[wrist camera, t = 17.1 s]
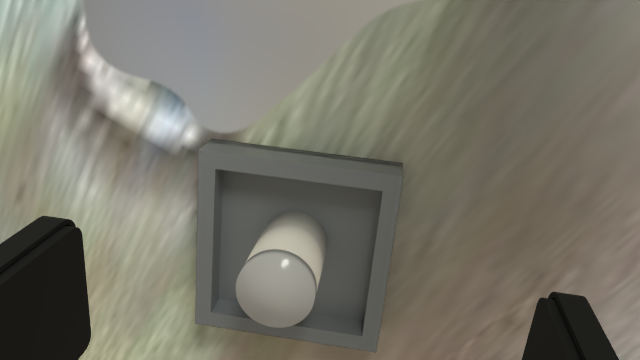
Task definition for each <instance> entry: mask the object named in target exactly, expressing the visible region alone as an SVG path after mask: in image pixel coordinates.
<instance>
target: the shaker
mask: <svg viewBox="0 0 640 360" xmlns="http://www.w3.org/2000/svg"><path fill="white" fill-rule="evenodd" d="M327 248H328V239H327V235H326V232H325V230H324V228H323V227H322V225H321V224H320V223H319V222H318V221H317V220H316V219H315V218H313V217H312V216H310V215H308V214H306V213H303V212H298V211H287V212H283V213H280V214H278V215H276V216H274V217H273V218H272V219H271V220H270V221H269V222H268V223H267V224H266V226H265V228H264V230H263V232H262V234H261V235H260V237H259V239H258V241H257V243H256V244H255V246H254V248H253V250H252V252H251V254H250V255H249V257H248V259H247V261H246V263H245V265H244V266H243V268H242V270H241V272H240V274H239V275H238V278H237V281H236V296H237V300H238V302H239V304H240V306H241V308H242V309H243V311H244V312H245V313H246V314H247V315H248V316H249V317H250V318H252V319H253V320H254V321H256V322H258V323H260V324H262V325H265V326H269V327H274V328H283V327H289V326H292V325H295V324H297V323H299V322H300V321H302V320H303V319H304V318H305V317H306V316H307V315H308V314H309V313H310V311H311V309H312V307H313V304H314V300H315V296H316V292H317V288H318V284H319V280H320V276H321V272H322V269H323V265H324V261H325V257H326V253H327Z"/></svg>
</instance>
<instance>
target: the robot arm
mask: <svg viewBox="0 0 640 360" xmlns="http://www.w3.org/2000/svg"><path fill="white" fill-rule="evenodd" d="M90 337H91V327H90V316H89V305H88V294H87V283H86V272H85V261H84V250H83V239H82V232H81V230H80V229H79V228H77V227H75V224H74V222H73V221H71V220H69V219H63V218H56V217H49V216H42V217H39V218H38V219H36V220H35V221H33V222H32V223H31V224H29V225H28V226H26V227H25V228H23V229H22V230H20V231H19V232H17V233H16V234H14V235H13V236H11V237H10V238H8V239H7V240H6V241H4V242H3V243H1V244H0V360H78V359H79V357H80V356H81V355H82V354H83V353H84V352H85V350H86V349H87V347H88V345H89V342H90ZM522 360H619V359H618V357H617V355H616V353H615V351H614V350H613V348H612V346H611V344H610V342H609V340H608V338H607V336H606V335H605V333H604V331H603V329H602V327H601V325H600V323H599V321H598V319H597V318H596V316H595V314H594V312H593V310H592V308H591V306H590V304H589V303H588V301H587V299H586V298H585V297H583V296H578V295H572V294H565V293H558V292H552V293H551V294H550V295H549V297H548V299H547V298H540V299H539V301H538V303H537V306H536V310H535V313H534V317H533V321H532V324H531V328H530V332H529V335H528V339H527V343H526V346H525V350H524V354H523V357H522Z"/></svg>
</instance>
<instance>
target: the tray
mask: <svg viewBox="0 0 640 360" xmlns="http://www.w3.org/2000/svg"><path fill="white" fill-rule="evenodd" d="M402 181H403V163H397V162H389V161H381V160H374V159H366V158H358V157H350V156H342V155H334V154H326V153H319V152H311V151H303V150H295V149H287V148H279V147H271V146H264V145H256V144H248V143H240V142H232V141H224V140H216V139H212V140H210V141H209V142H208V143H207V144H206V145H204V146H203V147H202V148H201V149H199V158H198V209H197V260H196V310H195V324H201V325H207V326H213V327H219V328H226V329H232V330H238V331H245V332H251V333H257V334H263V335H270V336H276V337H282V338H289V339H295V340H301V341H308V342H314V343H320V344H326V345H333V346H339V347H345V348H352V349H358V350H364V351H370V352H376V351H377V344H378V338H379V331H380V325H381V318H382V312H383V305H384V299H385V292H386V286H387V279H388V273H389V266H390V260H391V253H392V247H393V240H394V234H395V227H396V221H397V214H398V208H399V201H400V195H401V188H402ZM287 211H298V212H303V213H306V214H308V215H310V216H312V217H313V218H315V219H316V220H317V221H318V222H319V223H320V224H321V225H322V227H323V228H324V230H325V232H326V235H327V239H328V248H327V253H326V257H325V261H324V265H323V269H322V272H321V276H320V280H319V284H318V288H317V292H316V296H315V300H314V304H313V307H312V309H311V311H310V313H309V314H308V315H307V316H306V317H305V318H304V319H303V320H302V321H300V322H299V323H297V324H295V325H292V326H289V327H283V328H274V327H269V326H265V325H262V324H260V323H258V322H256V321H254V320H253V319H252V318H250V317H249V316H248V315H247V314H246V313H245V312H244V311H243V309H242V308H241V306H240V304H239V302H238V300H237V296H236V281H237V278H238V275H239V274H240V272H241V270H242V268H243V266H244V265H245V263H246V261H247V259H248V257H249V255H250V254H251V252H252V250H253V248H254V246H255V244H256V243H257V241H258V239H259V237H260V235H261V234H262V232H263V230H264V228H265V226H266V224H267V223H268V222H269V221H270V220H271V219H272V218H273V217H274V216H276V215H278V214H280V213H283V212H287Z"/></svg>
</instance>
